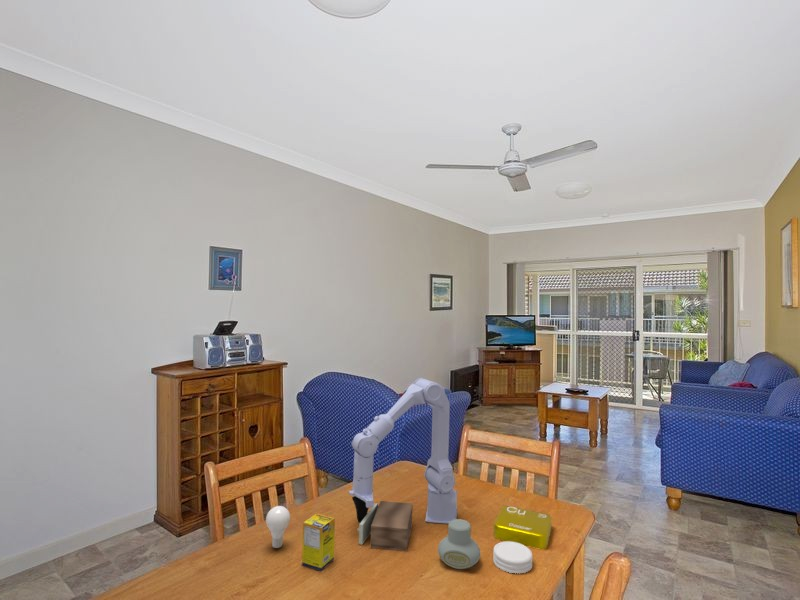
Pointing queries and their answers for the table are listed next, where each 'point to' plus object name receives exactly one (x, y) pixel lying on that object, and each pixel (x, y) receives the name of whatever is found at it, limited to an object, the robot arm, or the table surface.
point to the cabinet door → (366, 524)
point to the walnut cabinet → (391, 526)
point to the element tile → (523, 527)
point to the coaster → (512, 557)
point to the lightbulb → (277, 524)
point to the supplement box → (318, 541)
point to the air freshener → (459, 546)
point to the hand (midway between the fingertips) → (361, 521)
